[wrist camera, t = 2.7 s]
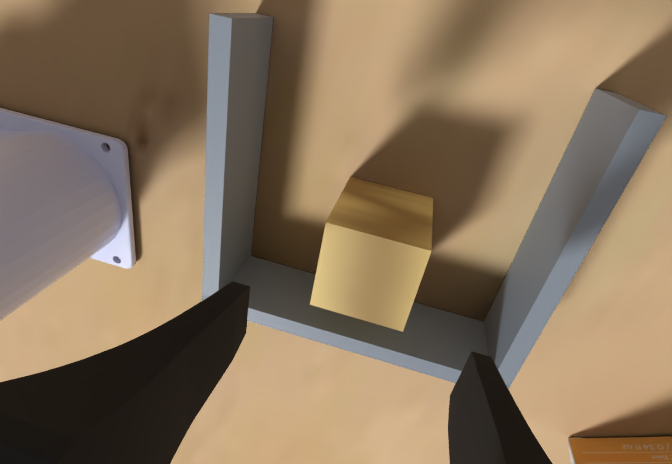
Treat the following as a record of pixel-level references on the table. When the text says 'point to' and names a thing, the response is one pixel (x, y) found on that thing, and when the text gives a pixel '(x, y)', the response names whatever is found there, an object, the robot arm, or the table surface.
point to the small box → (621, 450)
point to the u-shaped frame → (423, 321)
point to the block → (374, 253)
